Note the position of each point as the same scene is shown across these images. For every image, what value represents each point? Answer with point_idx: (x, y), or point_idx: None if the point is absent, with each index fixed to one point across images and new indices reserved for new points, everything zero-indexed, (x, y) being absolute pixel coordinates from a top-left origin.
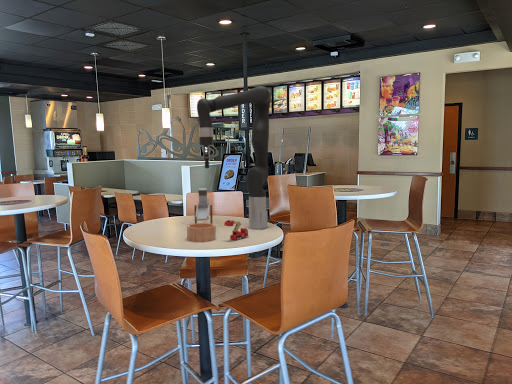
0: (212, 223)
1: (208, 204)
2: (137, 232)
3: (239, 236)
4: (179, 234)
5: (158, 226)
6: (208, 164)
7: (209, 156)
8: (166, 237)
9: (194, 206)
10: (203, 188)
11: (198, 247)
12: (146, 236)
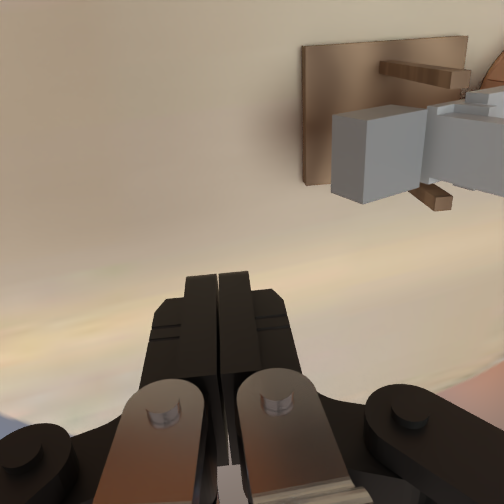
0: (393, 62)
1: (422, 108)
2: (342, 393)
3: None
4: (413, 225)
5: None
6: (252, 324)
7: (365, 501)
8: (466, 264)
9: (447, 207)
10: None
11: None
12: (428, 341)
